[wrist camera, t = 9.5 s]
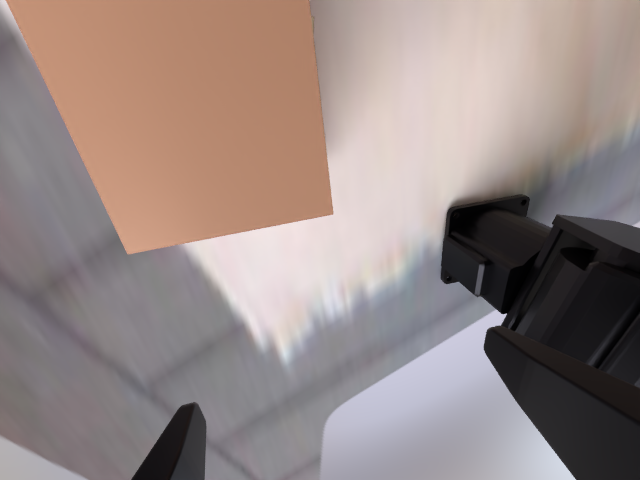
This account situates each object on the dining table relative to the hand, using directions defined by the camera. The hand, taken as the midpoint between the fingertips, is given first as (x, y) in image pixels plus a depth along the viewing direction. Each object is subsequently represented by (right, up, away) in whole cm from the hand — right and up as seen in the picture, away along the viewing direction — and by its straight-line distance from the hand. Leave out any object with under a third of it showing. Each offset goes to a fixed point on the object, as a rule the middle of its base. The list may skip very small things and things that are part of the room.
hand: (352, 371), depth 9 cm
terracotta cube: (-5, +9, +4) cm, 11 cm away
